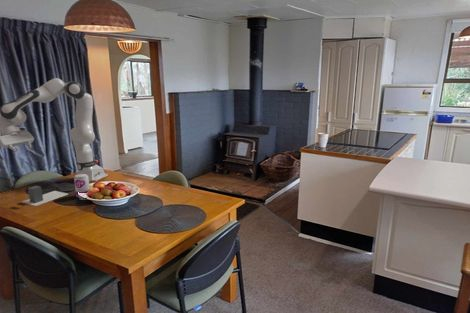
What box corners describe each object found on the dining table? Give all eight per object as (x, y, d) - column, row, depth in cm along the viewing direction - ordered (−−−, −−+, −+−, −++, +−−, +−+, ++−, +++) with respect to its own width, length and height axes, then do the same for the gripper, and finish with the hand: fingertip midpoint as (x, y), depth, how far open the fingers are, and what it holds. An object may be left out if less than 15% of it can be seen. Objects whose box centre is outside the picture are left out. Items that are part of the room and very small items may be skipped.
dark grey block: (38, 199, 204) (35, 185, 202) (43, 200, 202) (41, 186, 199) (30, 201, 199) (27, 188, 197) (35, 203, 197) (33, 189, 195)
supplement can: (87, 200, 206) (84, 177, 202) (74, 200, 206) (71, 177, 202) (92, 195, 213) (90, 173, 210) (80, 195, 214) (77, 173, 210)
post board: (55, 192, 219) (53, 180, 217) (69, 196, 213) (67, 183, 211) (21, 204, 200) (19, 191, 197) (36, 208, 193) (34, 194, 191)
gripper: (-5, 132, 203) (8, 149, 201) (28, 127, 221) (39, 143, 219) (-8, 139, 206) (5, 156, 204) (25, 133, 224) (36, 149, 222)
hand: (23, 149), depth 212 cm, fingers open, 8 cm apart
